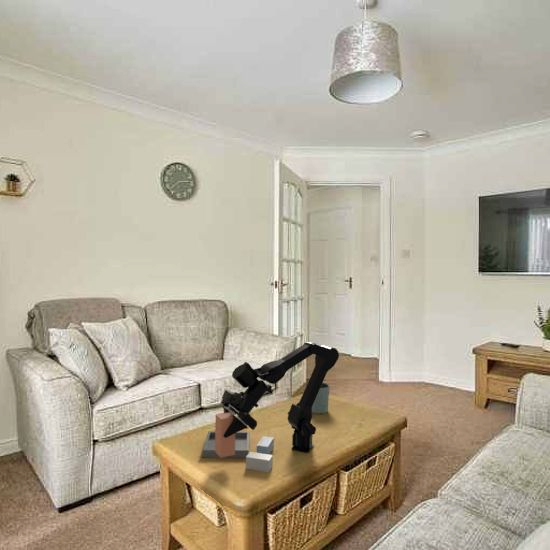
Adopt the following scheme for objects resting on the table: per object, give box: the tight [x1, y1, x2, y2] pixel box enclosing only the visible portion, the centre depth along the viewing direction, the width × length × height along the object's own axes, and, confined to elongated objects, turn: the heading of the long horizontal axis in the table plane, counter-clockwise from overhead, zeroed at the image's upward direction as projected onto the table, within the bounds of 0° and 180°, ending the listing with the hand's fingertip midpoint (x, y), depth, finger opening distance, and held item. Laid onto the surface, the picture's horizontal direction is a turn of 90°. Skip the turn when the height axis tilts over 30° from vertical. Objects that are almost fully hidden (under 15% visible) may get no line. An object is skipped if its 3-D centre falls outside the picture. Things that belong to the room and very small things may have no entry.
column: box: [214, 412, 235, 459], centre depth 133 cm, size 5×5×12 cm
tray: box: [201, 430, 251, 459], centre depth 148 cm, size 16×16×3 cm
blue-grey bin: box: [312, 382, 330, 414], centre depth 188 cm, size 10×10×12 cm
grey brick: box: [245, 451, 274, 473], centre depth 133 cm, size 8×4×4 cm, turn 75°
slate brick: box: [256, 435, 275, 455], centre depth 145 cm, size 8×4×4 cm, turn 165°
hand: (221, 433), depth 133 cm, fingers closed on column, 5 cm apart
